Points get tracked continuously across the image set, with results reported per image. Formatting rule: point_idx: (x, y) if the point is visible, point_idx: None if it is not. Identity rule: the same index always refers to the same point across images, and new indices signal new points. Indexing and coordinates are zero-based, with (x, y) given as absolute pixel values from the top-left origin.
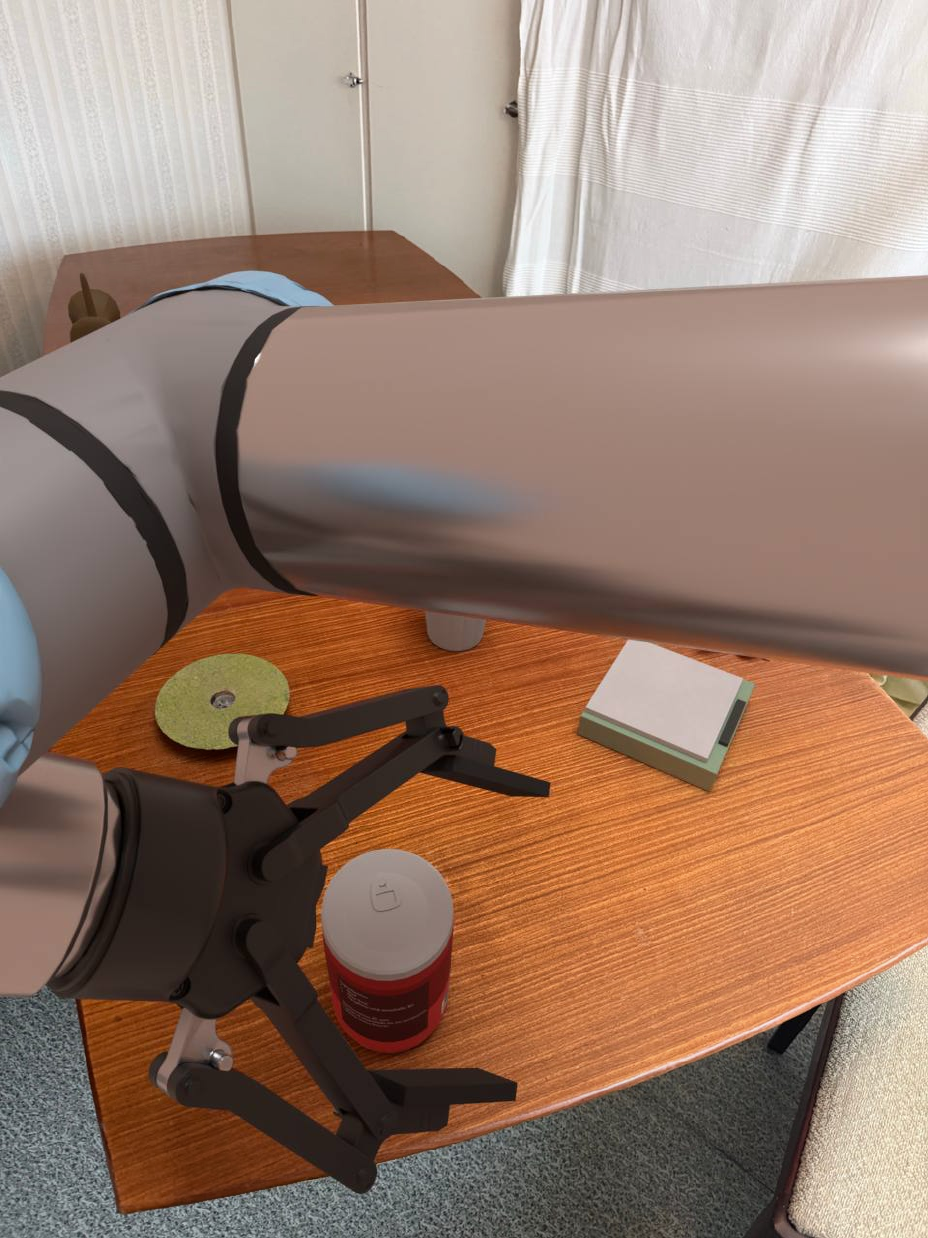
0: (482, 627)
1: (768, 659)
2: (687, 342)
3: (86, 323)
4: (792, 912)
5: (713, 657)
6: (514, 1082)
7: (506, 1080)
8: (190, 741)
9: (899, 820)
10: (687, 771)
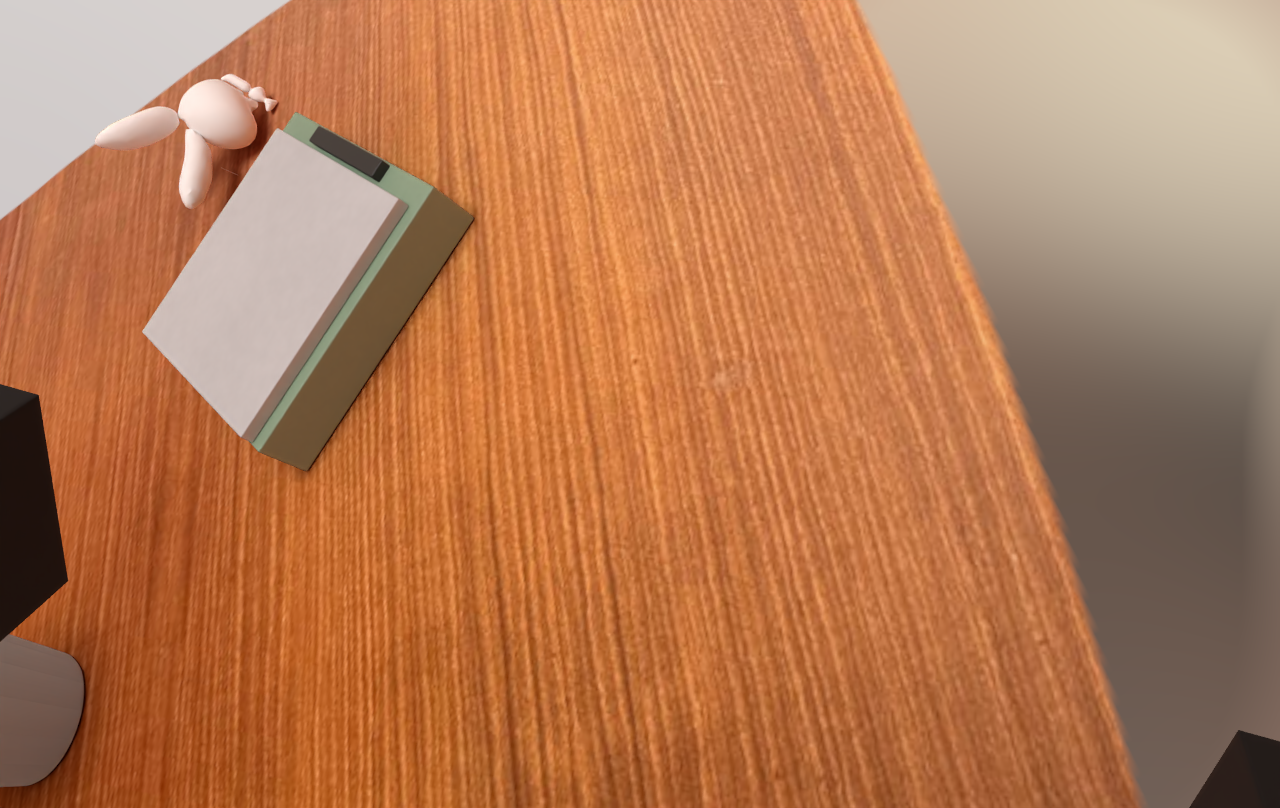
0: (36, 651)
1: (274, 102)
2: None
3: None
4: (721, 81)
5: None
6: (1240, 745)
7: (1226, 783)
8: None
9: None
10: (421, 249)
